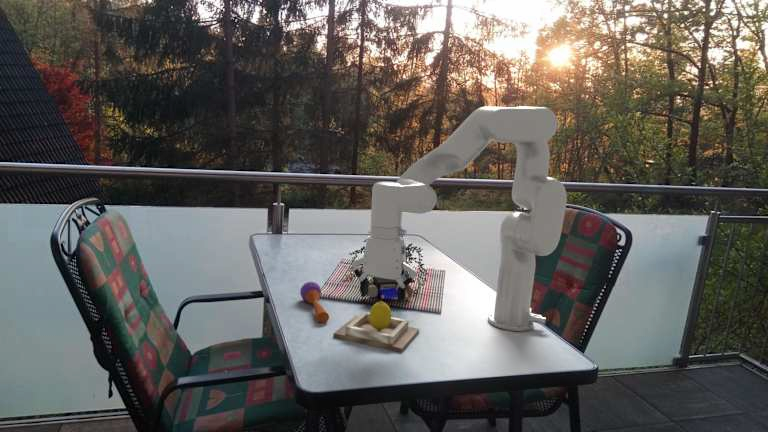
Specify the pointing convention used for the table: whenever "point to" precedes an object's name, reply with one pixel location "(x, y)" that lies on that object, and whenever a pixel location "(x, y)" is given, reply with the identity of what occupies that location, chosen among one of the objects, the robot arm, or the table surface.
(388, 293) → the figurine character
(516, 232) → the robot arm
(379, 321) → the lemon
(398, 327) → the jig board
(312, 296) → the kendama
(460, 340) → the table surface
